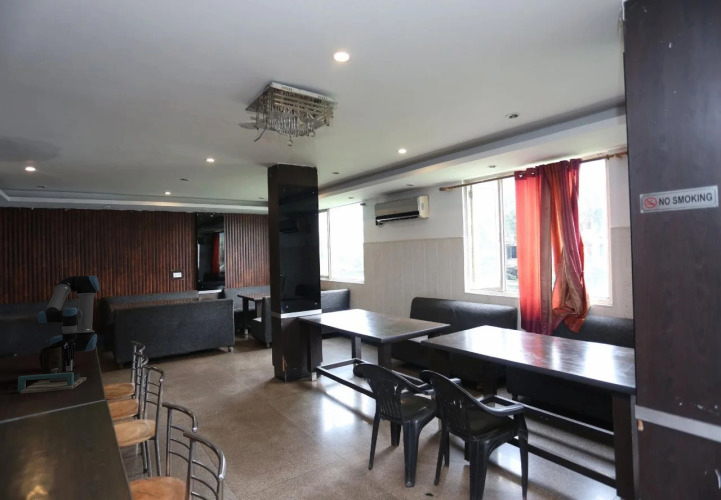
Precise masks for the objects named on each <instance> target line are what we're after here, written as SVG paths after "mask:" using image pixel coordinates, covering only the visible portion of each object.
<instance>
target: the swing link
mask: <svg viewBox="0 0 721 500" xmlns="http://www.w3.org/2000/svg"><path fill="white" fill-rule="evenodd" d="M80 375H81V374H80V373H74V380H78V379H80V378H81V377H80ZM58 381H67V377H62V378H50V382H58Z"/></svg>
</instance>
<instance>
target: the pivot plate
mask: <svg viewBox="0 0 721 500" xmlns="http://www.w3.org/2000/svg"><path fill="white" fill-rule="evenodd" d="M57 370H58V368H54V369H51V371H53V374H55V373H57ZM86 380H87V377H86V376H85V377H80V379H78V380H74V384H73V385H70V386H67V381H58V382H50V380H38V381H36V382H35V383H32V384H31V385H29V386H26V387H25V389H23V390H21V392H19V393H20V394H21V395H22V394H31V393H43V392H54V391H69V390H73V389H75V388H76V387H77V386H79V385H81V384H82V383H83V382H85V381H86Z"/></svg>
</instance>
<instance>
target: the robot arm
mask: <svg viewBox="0 0 721 500" xmlns="http://www.w3.org/2000/svg"><path fill="white" fill-rule="evenodd" d="M53 291H54V292H53V294H52V296H51V298H50V301H48V303H47V304H48V305H47V306H46V308H45V310H41V311H39V312H38V313H37V321H38V323H39V324H49V323H50V324H51V323H52V324H53V323H61V324H62V327H61V331H62V334H59V335H55V336H52V337H51V338H50V340H49V341H50V342H49V347H51V346H61V348H62V349H61V355H62V371H65V372H73V368H74V367H75V364H74V361H73V360H74V359H75V353H82V352H85V353H87V352H92V351H93V350H95V348H96V345H97V341H98V334H97V333H96V332H95V330H94V329H93V322H94V321H93V317H94V301H95V300H94V296H96V295H97V292H99V291H100V282H99V279H98V277H97V275H70V276H67V277H65V278H63V279H61V280H59V282H58V283H56V284H55V286H54V289H53ZM70 293H76V295H77V296H78V298H79V299H78V308H77V307H73V306H71V307H64V308H63V305H64V303H65V301H66V299H67V296H68V295H70Z"/></svg>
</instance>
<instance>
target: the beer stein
mask: <svg viewBox="0 0 721 500" xmlns="http://www.w3.org/2000/svg"><path fill="white" fill-rule="evenodd" d="M61 349H62V348H61V346H51V347H50V346H47V347H46V346H45V347H43V348H42V349H40V353H39V356H38V357H39V359H38V360H39V365H40V370H39V371H40V373H41V374H40V375H42V374H53V371H51V369H54V368H58V370H57V373H63V370H62V355H61ZM43 380H50V378H49V379H40V381H43Z"/></svg>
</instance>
